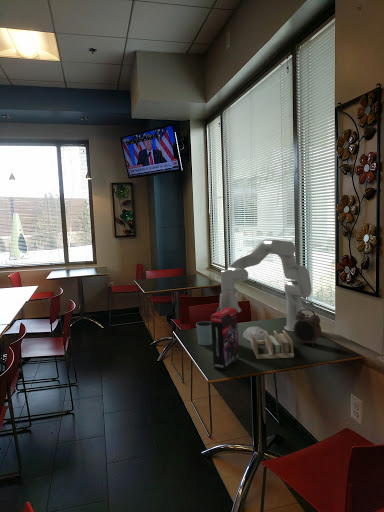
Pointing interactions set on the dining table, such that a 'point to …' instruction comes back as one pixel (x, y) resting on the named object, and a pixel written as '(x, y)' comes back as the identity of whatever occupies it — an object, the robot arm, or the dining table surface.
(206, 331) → the grey cylindrical cup
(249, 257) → the robot arm
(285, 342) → the plywood offcut
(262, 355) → the rack
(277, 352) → the sage offcut
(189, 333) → the dining table surface
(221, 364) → the graphics card box
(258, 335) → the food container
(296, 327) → the alarm clock
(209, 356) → the dining table surface
